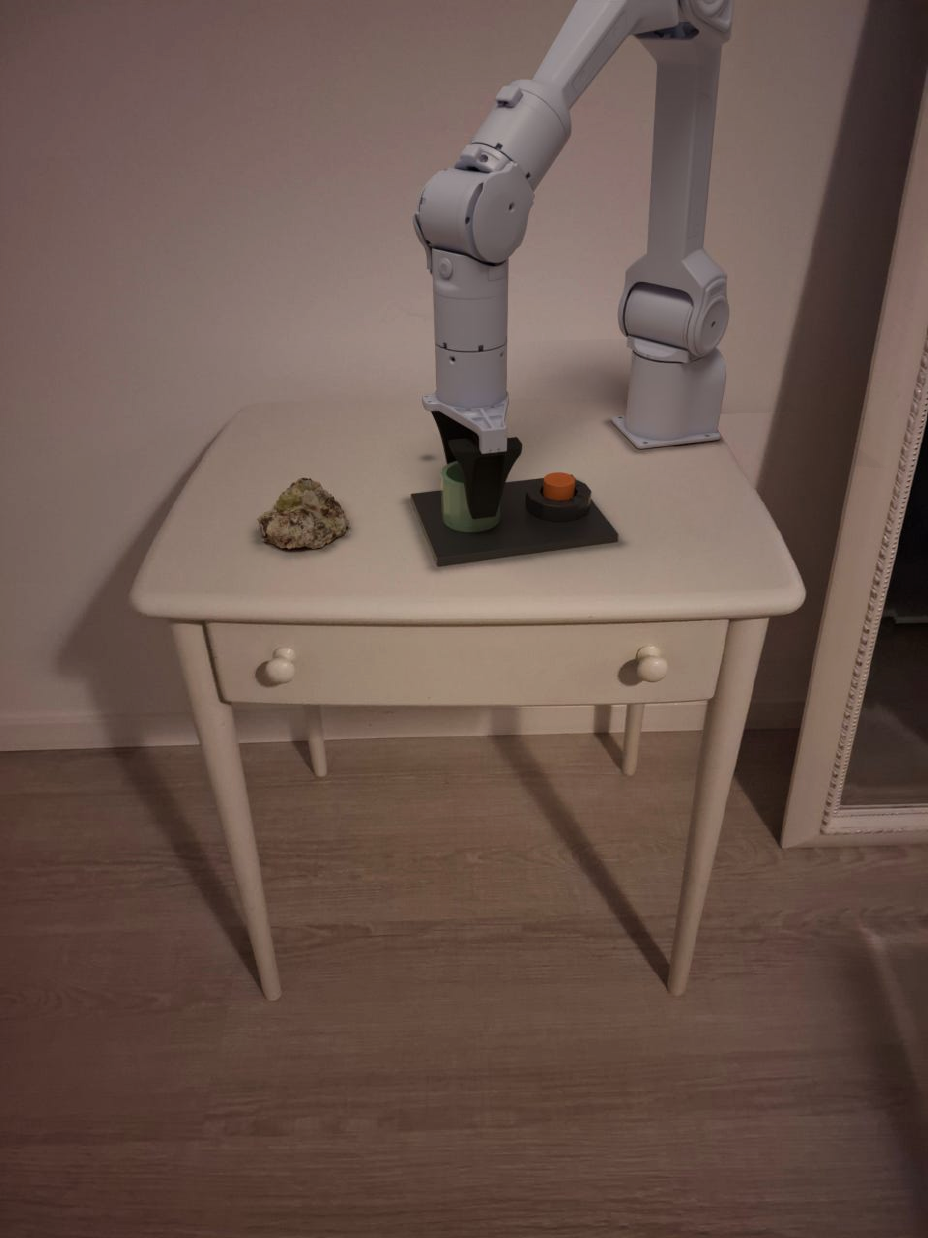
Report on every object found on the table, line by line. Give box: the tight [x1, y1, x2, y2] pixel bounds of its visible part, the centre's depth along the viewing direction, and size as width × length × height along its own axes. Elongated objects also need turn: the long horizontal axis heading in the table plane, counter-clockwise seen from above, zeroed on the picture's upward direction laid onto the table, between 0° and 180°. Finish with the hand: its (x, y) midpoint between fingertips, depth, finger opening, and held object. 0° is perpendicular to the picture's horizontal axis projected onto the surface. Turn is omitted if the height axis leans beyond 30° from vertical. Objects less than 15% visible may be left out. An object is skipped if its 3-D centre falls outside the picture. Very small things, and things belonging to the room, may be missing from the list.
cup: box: [439, 461, 501, 532], centre depth 76 cm, size 5×5×4 cm
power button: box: [543, 471, 576, 500], centre depth 78 cm, size 3×3×2 cm
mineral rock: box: [256, 477, 350, 550], centre depth 78 cm, size 11×4×8 cm
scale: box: [410, 473, 619, 568], centre depth 78 cm, size 16×12×2 cm
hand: (472, 495), depth 76 cm, fingers open, 7 cm apart
